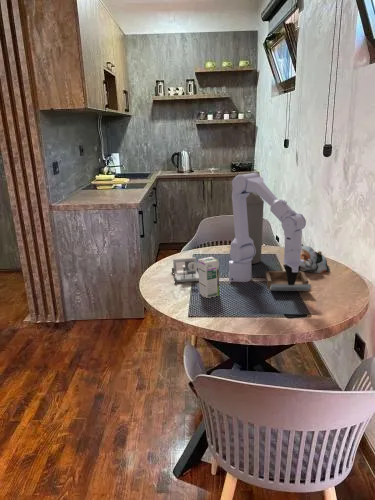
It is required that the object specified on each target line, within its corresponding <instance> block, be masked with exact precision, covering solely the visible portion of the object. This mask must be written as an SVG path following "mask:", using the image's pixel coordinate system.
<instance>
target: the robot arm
mask: <svg viewBox="0 0 375 500" xmlns="http://www.w3.org/2000/svg"><path fill="white" fill-rule="evenodd" d="M231 185H232V190H231V191H232V192H231V201H232V204H231V205H232V214H233V225H234V226H233V228H234V229H233V230H234V239H233V240H232V241H231V243H230V249H229V257H230V259H231V260H228V273H227V274H228V275H227V276H228V284H229V285H231V282H236V283H237V282H240V283H248V282H250V281H251V280H252V265H253V264H252V260H253V257H254V256H255V253H256V249H255V247H254V244H253V240H252V239H251V238H250V237H249V232H248V218H247V204H246V197H247V196H248V195H249V194H250V193H251V192H252V193H256V194H258V195H259V196H260V197H261V198H262V199H263V201H264V202H266V203H267V204H268V205H269V206H270V212H271V213H272V214H273V215H274V216H275V217H276V218H277V220H278V221H279V222H280V223H281V227H282V230H283V235H284V248H283V249H284V250H283V251H284V253H283V268H284V271H286V275H287V281H288V285H294V284H295V281H296V277H297V275H298V273H299V271H300V270H301V268H300V264H301V263H304V260H302V259H301V244H302V242H303V241H302V239H303V238H302V237H303V229H304V228H305V227H306V224H307V219H306V218H305V217H304V215H303V214H301V213H298V212H296V211H295V210H293V208H291V206H289V205H288V204H287V203H288V202H287V201H286V200H284V199H278V198H277V197H276V195H275V194H274V193H273V191H271V189H270V188H269V187H268V186H267V185H266V183H265V182H264V178H263V177H262V176H261V175H260V174H259V173H258V172H252V173H245V174H237V175H236V176H235V177H234V178H232V180H231Z"/></svg>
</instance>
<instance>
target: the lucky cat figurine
mask: <svg viewBox="0 0 375 500" xmlns="http://www.w3.org/2000/svg"><path fill="white" fill-rule="evenodd" d="M301 259H302V260H304V263H301V264H300V268H301V270H300V271H303V272H309V273H316V274H326V273H329V272H330V271H331V269H330V266H329V265H328V260H327V258H326V257H325V255H323V253H322V251H320V250H319V251H315V250H314V249H313V247H311V246H309V245H306V246H305V245H304V244H303V243H301Z"/></svg>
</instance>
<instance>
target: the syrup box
mask: <svg viewBox="0 0 375 500" xmlns="http://www.w3.org/2000/svg"><path fill="white" fill-rule="evenodd" d="M197 262H198V263H197V265H198V274H199V280H198V286H199V288H198V289H199V295H200V294H201V295H202V296H201V295H200V296H201V297H203V296H204V297H206V298H209V299H212V298H211V297H213V298H216V296H217V297H220V295H221V294H220V264H219V262H220V261H219V259H217V258H215V257H214V256H209V257H203V258H198V261H197ZM204 297H203V298H204ZM206 298H205V299H206Z"/></svg>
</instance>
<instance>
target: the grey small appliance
mask: <svg viewBox="0 0 375 500" xmlns="http://www.w3.org/2000/svg"><path fill="white" fill-rule="evenodd" d="M172 261H173V262H172V265H173V267H172V268H171V273H174V274H175V275H174V274H173V275H174V278H173V281H175V283H177V284H178V283H181V282H182V283H185V282H194V281H199V268H198V263H197V257H195V256H194V257H184V258H183V257H182V258H172ZM175 283H174V284H175Z"/></svg>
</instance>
